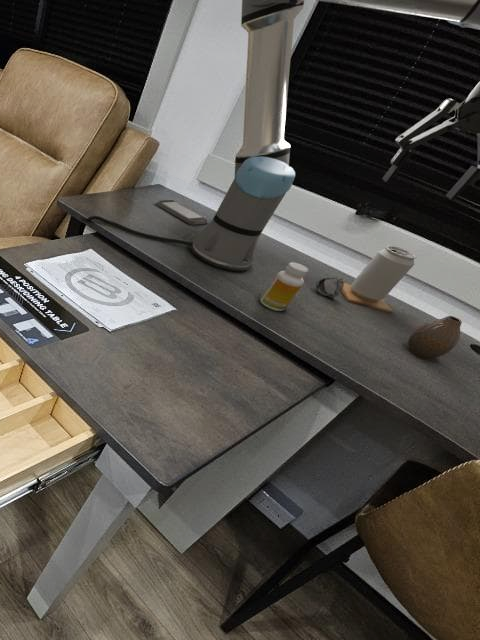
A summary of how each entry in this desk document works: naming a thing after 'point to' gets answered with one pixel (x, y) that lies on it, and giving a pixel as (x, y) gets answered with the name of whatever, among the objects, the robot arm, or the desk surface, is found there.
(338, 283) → the wristwatch
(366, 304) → the coaster
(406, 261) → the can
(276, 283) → the supplement bottle
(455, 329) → the vase
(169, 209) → the smartphone
